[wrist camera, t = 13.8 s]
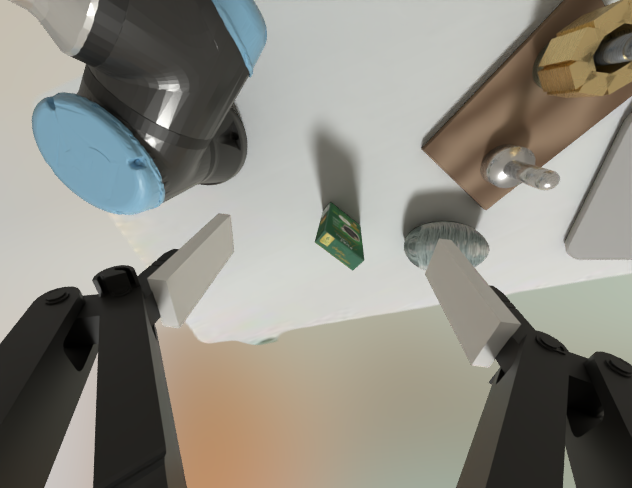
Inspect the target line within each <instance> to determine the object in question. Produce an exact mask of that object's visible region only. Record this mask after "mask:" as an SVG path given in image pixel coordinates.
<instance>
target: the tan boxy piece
mask: <svg viewBox="0 0 632 488" xmlns="http://www.w3.org/2000/svg"><path fill="white" fill-rule="evenodd" d="M629 33H632V0H620V1H617V2H615V3H612V4H610V5H607V6H605V7H602V8H599V9H597V10H594V11H592V12H589V13H587V14H584V15H582V16H581V17H579V18H578V19H576V20H575V21H574V22H572V23H571V24H569V25H568V26H566V27H565V28H564V29H562V30H561V31H559V32H558V33H556V36H557V38H554V39H551V41H550V43H549V45H548V47H547V49H546V51H545V53H544V55H543V57H542V59H541V62H540V64H539V66H538V67H543V69H541V70H540V71H538V72H537V73H538V76H539V80H540V83H541V86H542V89H543V92H548V93H547V94H546V95H551V96H558V97H564V98H576V97H597V96H603V95H609V94H611V93H613V92H615V91H616V90H618V89H620V88H621V87H623V86H625V85H627V84H628V83H630V82H632V61H627V62H621V63H615V64H609V65H603V66H597V67H595V65H594V60H593V55H594V53H595V52H596V50H597V48H598V46H599V45H600V43H601V41H602V40H606V39H610V38H614V37H617V36H621V35H625V34H629Z"/></svg>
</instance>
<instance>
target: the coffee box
mask: <svg viewBox="0 0 632 488" xmlns="http://www.w3.org/2000/svg"><path fill="white" fill-rule="evenodd" d="M315 243H316V244H318V245H319V246H320V247H322V248H323V249H325V250H326V251H327V252H329V253H330V254H331V255H332V256H334V257H335V258H336V259H338V260H339V261H340V262H342V263H343V264H344V265H346V266H347V267H348V268H350V269H351V270H354V269H355V268H356V267H357V266H359V265H360V264H361V263H362V262H363V261H364V254H363V245H362V236H361V227H360V225H359V224H357V223H356V222H355V221H354V220H353V219H351V218H350V217H349V216H347V215H346V214H345V213H344V212H343V211H341V210H340V209H339V208H338V207H336V206H335V205H334V204H333V203H332V202H330V203H329V204H328V206H327V207H326V208H325V210H324V211H323V213H322V217H321V221H320V224H319V228H318V232H317V235H316V239H315Z"/></svg>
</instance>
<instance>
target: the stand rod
mask: <svg viewBox="0 0 632 488" xmlns="http://www.w3.org/2000/svg"><path fill="white" fill-rule="evenodd" d="M480 173H481V176H482V177H483V179H484V180H486V181H487V182H489V183H491V184H493V185H495V186H497V187H500V188H511V187H514V186H517V185H519V184H521V183H525V184H527V185H529V186H532V187H534V188H537V189H539V190H550V189H552V188H554V187H556V186H557V185H558V183H559V181H560V176H559V175H558V173H556V172H554V171H551V170H548V169H545V168H541V167H538V166H535V156H534V154H533V152H532V151H531V150H529V149H527V148H524V147H520V146H515V145H510V144H505V145H501V146H498V147H496V148H494V149H493V150H491V151H490V152H489V153H488V154H487V155H486V156H485V157H484V159H483V161H482V163H481V167H480Z"/></svg>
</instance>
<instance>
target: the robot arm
mask: <svg viewBox="0 0 632 488" xmlns="http://www.w3.org/2000/svg"><path fill="white" fill-rule="evenodd" d="M9 1H11V2H13V3H15V4H16V5H18V6H20V7H22V8H24V9H26V10H28V11H29V12H30V13H31V14H32V15H33V16H35V17H36V18H37V19H38V20H39V22H40V23H41V25H42V26H43V27H44V29H45V30H46V31H47V33H48V34H49V35H50V37H51V38H52V39H53V41H54V42H55V43H56V45H57V46H58V47H59V49H60V50H61V51H62V52H63V53H65V54H67V55H69V56H71V57H73V58H75V59H77V60H80V61H82V62H84V63H86V67H85V70H84V74H83V77H82V81H81V85H80V88H79V91H78V93H77V94H72V93H65V92H64V93H58V94H56V95H55V96H53V97H47V98H44V99H43V100H41V101H40V102H39V103H38V104H37V106H36V107H35V109H34V112H33V116H32V129H33V134H34V137H35V140H36V143H37V146H38V148H39V150H40V152H41V154H42V156H43V157H44V159H45V161H46V162H47V163H48V165H49V166H50V167H51V168H52V170H53V172H54V173H55V175H56V176H57V177H58V178H59V179H60V180H61V181H62V182H63V183H64V184H65V185H66V186H67V187H68V188H69V189H70V190H71V191H72V192H74V193H75V194H76V195H78V196H79V197H81V198H82V199H83V200H85V201H86V202H88V203H89V204H91V205H93V206H95V207H97V208H99V209H102V210H104V211H107V212H110V213H114V214H125V215H126V214H128V215H133V214H138V213H141V212H143V211H146V210H149V209H153V208H156V207H158V206H160V204H161V203H163V202H165V201H167V200H169V199H171V198H173V197H175V196H176V195H178V194H180V193H182V192H184V191H186V190H188V189H189V188H191V187H193V186H195V185H197V184H198V185H199V184H201V185H217V184H221V183H223V182H226V181H227V180H229V179H231V178H232V177H234V176H235V175H236V174H237V173H238V172H239V171H240V170H241V168H242V166H243V164H244V162H245V159H246V155H247V138H246V134H245V130H244V127H243V125H242V123H241V121H240V119H239V117H238V115H237V114H236V112H235V111H234V110H233V109H232V107H231V106H232V104H233V102H234V101H235V99H236V97H237V96H238V94H239V92H240V90H241V89H242V87H243V85H244V83H245V82H246V80H247V78H248V76H249V77H251V76H252V74H253V68H254V66H255V64H256V62H257V60H258V58H259V56H260V54H261V52H262V50H263V48H264V46H265V44H266V40H267V30H266V25H265V21H264V19H263V16H262V14H261V12H260V10H259V9H258V7H257V5H256V4H255V2H254V1H253V0H9ZM233 252H234V245H233V235H232V225H231V215H228V214H217V215H216V216H215V217H214V218H213V219H212V220H211V221H210V222H209V223H208V224H206V225H205V226H204V227H203V228H202V229H201V230H200V231H199V232H198V233H197V234H196V235H194V236H193V237H192V238H191V239H190V240H189V241H188V242H187V243H186V244H185V245H183V246H182V247H181V248H180V249H173V250H170V251H168V252H166V253H164V254H163V255H162V256H161V257H160V258H158V259H157V261H155V262H154V263H153V264H152V265H151V266H149V267H148V268H147V269H146V270H144V271H143V272H142V273H141V274H140V275H139V276H137V275H136V272H135V270H134V268H133V267H131V266H125V265H121V266H114V267H111V268H108V269H105V270H103V271H101V272H99V273H98V274H97V275H96V276H94V278H93V280H92V281H93V283H94V285H95V287H96V289H97V291H98V293H99V294H97V295H87V296H83V295H82V294H81V292H80V290H79V289H78V288H76V287H62V288H57V289H54V290H51V291H49V292H47V293H45V294H43V295H41V296H40V297H38V298H37V299H36V300H35V301H34V302H33V303H32V305H31V306H30V307H29V308H28V310H27V311H26V312H25V313H24V315H23V316H22V317H21V318H20V320H19V321H18V322H17V323H16V325H15V326H14V327H13V328H12V330H11V331H10V332H9V334H8V335H7V336H6V337H5V339H4V340H3V341H2V342H1V344H0V488H44V486H45V484H46V482H47V479H48V477H49V474H50V471H51V469H52V466H53V464H54V461H55V459H56V456H57V454H58V451H59V449H60V446H61V444H62V441H63V439H64V436H65V434H66V431H67V429H68V426H69V424H70V421H71V418H72V416H73V413H74V411H75V408H76V406H77V403H78V401H79V398H80V396H81V393H82V391H83V388H84V386H85V383H86V381H87V378H88V376H89V373H90V371H91V368H92V366H93V363H94V360H95V358H96V355H97V353H98V373H97V400H96V427H95V455H94V481H93V488H187V486H186V481H185V476H184V470H183V465H182V460H181V455H180V450H179V445H178V440H177V434H176V429H175V424H174V419H173V413H172V408H171V403H170V398H169V393H168V388H167V382H166V378H165V372H164V367H163V362H162V356H161V351H160V346H159V341H158V336H157V331H156V327H155V323H156V321H157V320H158V319H159V318H161V321H162V324H163V326H167V327H174V328H180V327H181V326H182V324H183V323H184V321H185V320H186V319H187V317H188V316H189V314H190V313H191V312H192V310H193V309H194V307H195V306H196V305H197V303H198V302H199V300H200V299H201V298H202V296H203V295H204V293H205V292H206V290H207V289H208V288H209V286H210V285H211V283H212V282H213V281H214V279H215V278H216V276H217V275H218V274H219V272H220V271H221V269H222V268H223V267H224V265H225V264H226V262H227V261H228V259H229V258H230V257H231V255H232V254H233ZM425 275H426V277H427V279H428V281H429V283H430V285H431V287H432V289H433V291H434V293H435V295H436V297H437V299H438V301H439V303H440V305H441V307H442V308H443V311H444V313H445V315H446V316H447V319H448V320H449V322H450V324H451V326H452V328H453V330H454V332H455V334H456V336H457V338H458V340H459V342H460V344H461V346H462V348H463V350H464V352H465V354H466V356H467V358H468V360H469V362H470V364H471V365H472V366H480V367H488V368H489V367H490V365H491V364H492V363H493V361H494V360H495V359H496V360H497V362H498V363H499V365H500V368H499V370H498V371H497V372H496V374H495V375H494V376H493V377H492V379H491V380H490V381H489V383H490V384H492V383H493V384H492V387H491V390H490V392H489V396H488V398H487V401H486V404H485V407H484V410H483V412H482V415H481V418H480V421H479V424H478V427H477V430H476V432H475V435H474V438H473V441H472V444H471V447H470V449H469V452H468V455H467V458H466V461H465V464H464V467H463V469H462V472H461V475H460V478H459V481H458V484H457V487H456V488H563V473H564V472H563V471H564V452H565V446H566V450H567V454H568V457H569V461H570V465H571V469H572V473H573V477H574V481H575V484H576V488H632V366H631V365H630V364H629V363H627V362H626V361H624V360H622V359H621V358H618V357H616V356H614V355H612V354H608V353H605V352H595V353H594V354H593V355H592V356H591V357H590V358H589V359H588V358H585V357H582V356H579V355H576V354H573V353H570V352H569V351H568V350H567V349H566V347H565V346H564V345H563V344H562V343H561V342H559V341H558V340H557V339H555V338H554V337H552V336H550V335H548V334H546V333H543V332H540V331H536V330H535V329H534V328H533V327H532V326H531V325H530V324H529V322H528V321H527V320H526V319H525V318H524V317H523V315H522V314H521V313H520V312H519V311H518V310H517V309H515V306H514V305H513V304H512V303H510V301H509V299H508V298H507V297H506V296H505V295H504V294H503V293H502V292H501V291H499V290H498V289H497V288H495V287H494V286H489V285H488V284H487V282H486V281H485V280H484V279H483V278H482V276H481V275H480V274H479V273H478V272H477V270H476V269H475V268H474V267H473V265H472V264H471V263H470V262H469V261H468V259H467V258H466V257H465V256H464V255H463V253H462V252H461V251H460V250H459V249H458V247H457V246H456V245H455V244H454V243H453V241H452V240H447V239H439V240H438V242H437V245H436V247H435V250H434V252H433V255H432V257H431V260H430V263H429V265H428V268H427V270H426V273H425Z"/></svg>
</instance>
